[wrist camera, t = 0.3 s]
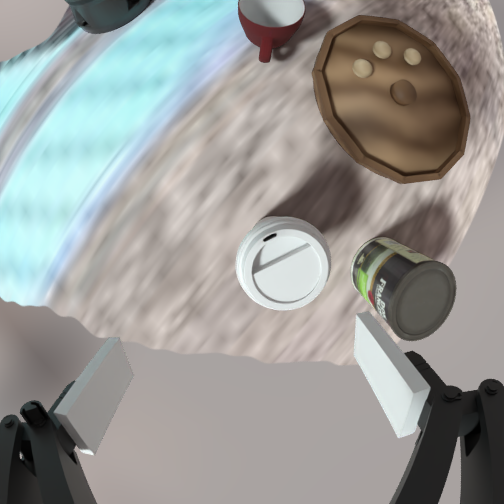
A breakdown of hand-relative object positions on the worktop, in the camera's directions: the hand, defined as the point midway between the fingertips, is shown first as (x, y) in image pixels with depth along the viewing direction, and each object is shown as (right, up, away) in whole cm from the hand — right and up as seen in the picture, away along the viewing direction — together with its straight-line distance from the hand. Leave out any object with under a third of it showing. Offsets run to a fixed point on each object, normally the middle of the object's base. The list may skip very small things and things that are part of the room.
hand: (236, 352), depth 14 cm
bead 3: (+26, +36, +18) cm, 48 cm away
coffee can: (+21, +3, +28) cm, 35 cm away
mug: (+3, +36, +19) cm, 41 cm away
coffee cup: (+4, +7, +26) cm, 28 cm away
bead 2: (+20, +36, +18) cm, 45 cm away
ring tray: (+24, +30, +21) cm, 43 cm away
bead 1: (+17, +32, +19) cm, 41 cm away
